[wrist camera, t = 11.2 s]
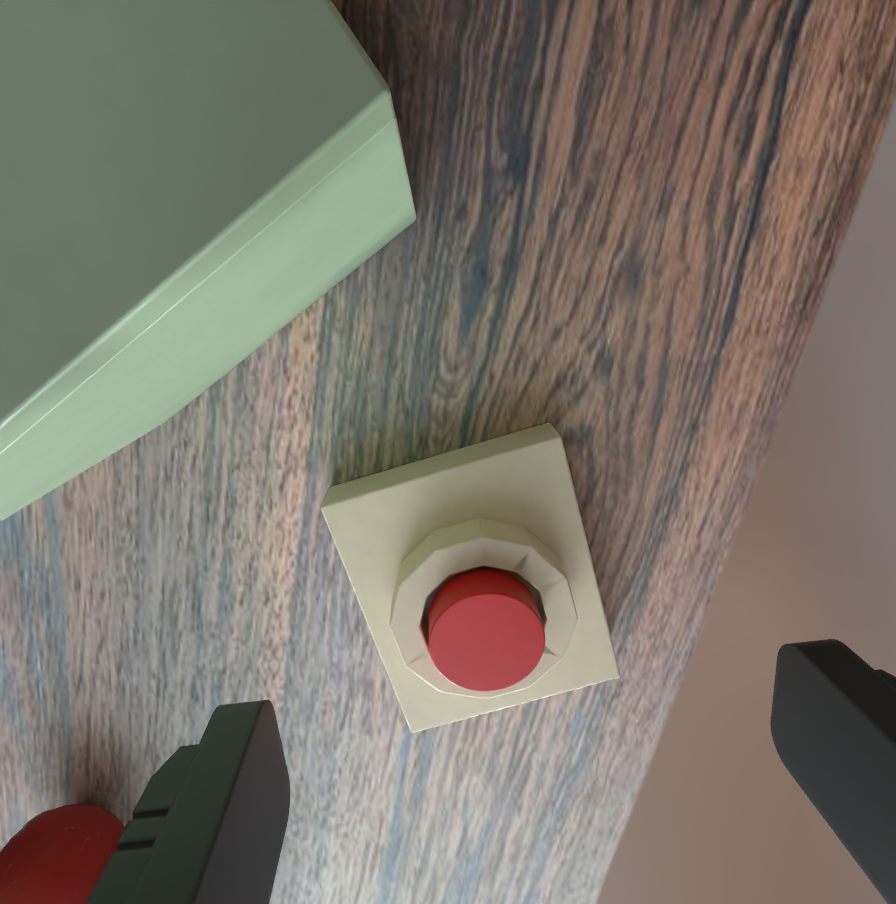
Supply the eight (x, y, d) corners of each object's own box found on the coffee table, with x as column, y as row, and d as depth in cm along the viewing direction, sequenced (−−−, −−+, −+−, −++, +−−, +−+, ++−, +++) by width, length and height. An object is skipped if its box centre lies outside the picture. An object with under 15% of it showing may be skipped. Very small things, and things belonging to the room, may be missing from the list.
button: (522, 555, 22) (529, 579, 21) (548, 646, 24) (557, 675, 22) (414, 586, 23) (413, 611, 21) (446, 674, 24) (448, 704, 22)
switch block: (549, 421, 25) (572, 450, 21) (606, 647, 28) (635, 706, 24) (328, 486, 25) (310, 526, 21) (412, 699, 29) (410, 766, 25)
